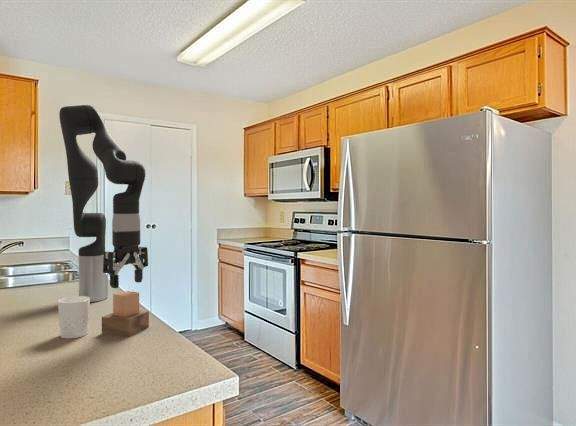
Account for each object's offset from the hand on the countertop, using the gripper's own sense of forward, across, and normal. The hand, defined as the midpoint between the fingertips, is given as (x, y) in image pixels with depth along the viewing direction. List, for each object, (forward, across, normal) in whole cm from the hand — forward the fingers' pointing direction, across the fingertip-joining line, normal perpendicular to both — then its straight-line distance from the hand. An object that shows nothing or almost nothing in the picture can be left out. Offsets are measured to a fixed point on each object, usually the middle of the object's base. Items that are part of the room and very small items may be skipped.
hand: (126, 284), depth 115 cm
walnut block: (+13, 0, 0) cm, 13 cm away
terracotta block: (+8, 0, 0) cm, 8 cm away
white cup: (+13, +10, -10) cm, 19 cm away
